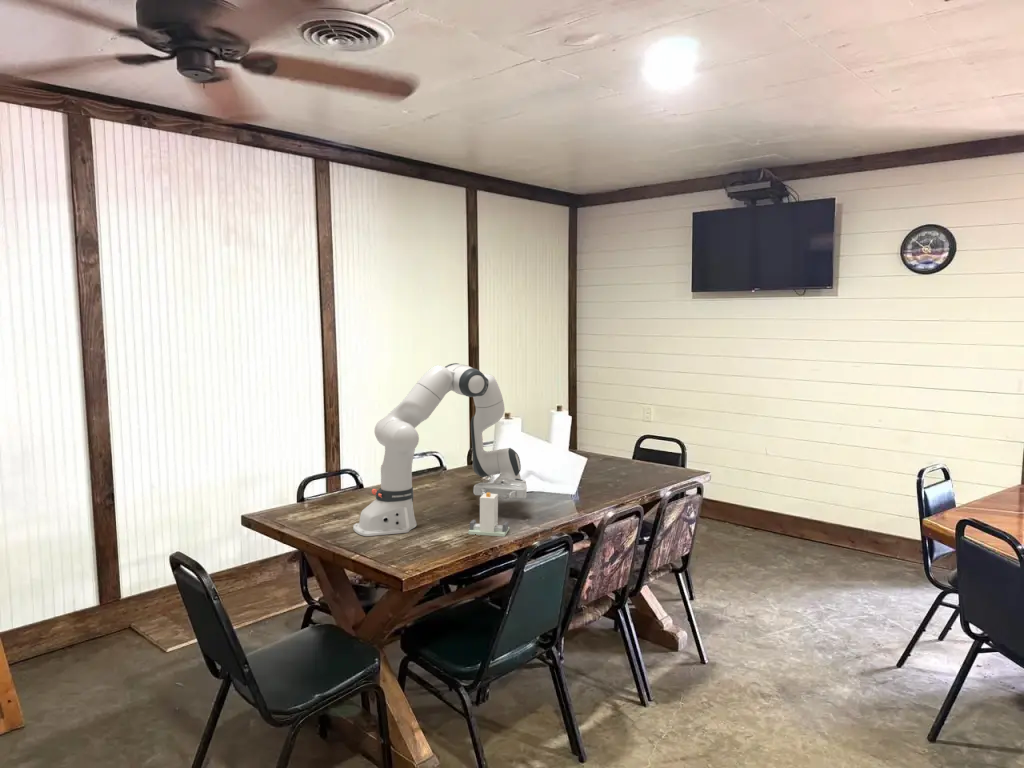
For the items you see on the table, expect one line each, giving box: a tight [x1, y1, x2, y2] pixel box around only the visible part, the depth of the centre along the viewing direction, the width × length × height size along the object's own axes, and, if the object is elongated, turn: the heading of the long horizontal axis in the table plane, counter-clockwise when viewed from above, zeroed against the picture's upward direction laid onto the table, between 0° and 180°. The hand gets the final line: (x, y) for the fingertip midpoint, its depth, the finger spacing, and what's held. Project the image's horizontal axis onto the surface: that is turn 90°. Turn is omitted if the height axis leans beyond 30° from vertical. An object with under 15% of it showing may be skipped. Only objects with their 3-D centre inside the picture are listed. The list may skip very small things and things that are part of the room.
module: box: [479, 492, 499, 532], centre depth 245 cm, size 6×5×13 cm
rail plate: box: [467, 519, 510, 538], centre depth 245 cm, size 8×13×3 cm, turn 78°
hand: (496, 495), depth 256 cm, fingers open, 8 cm apart
